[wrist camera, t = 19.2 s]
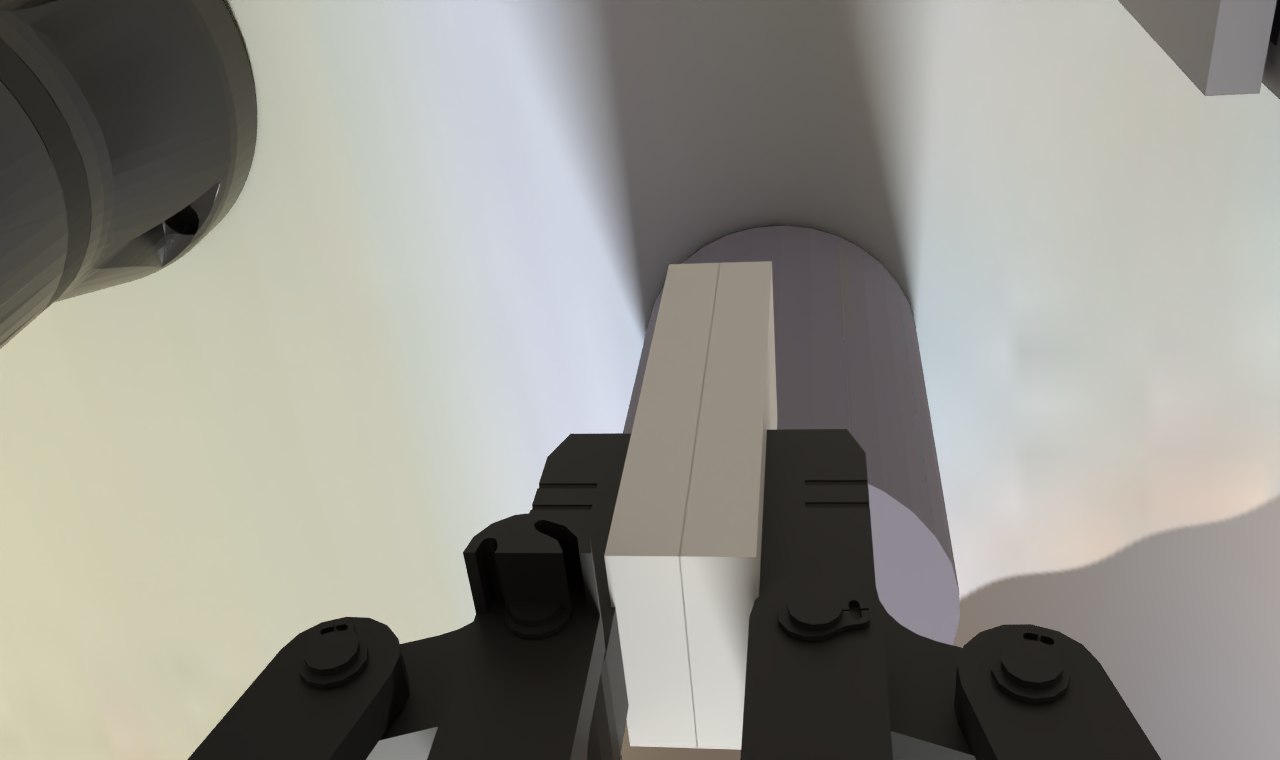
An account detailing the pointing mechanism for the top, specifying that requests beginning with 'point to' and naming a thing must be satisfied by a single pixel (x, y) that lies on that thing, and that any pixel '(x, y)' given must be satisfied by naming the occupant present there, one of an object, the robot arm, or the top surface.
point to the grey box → (1273, 56)
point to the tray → (1211, 39)
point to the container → (856, 401)
